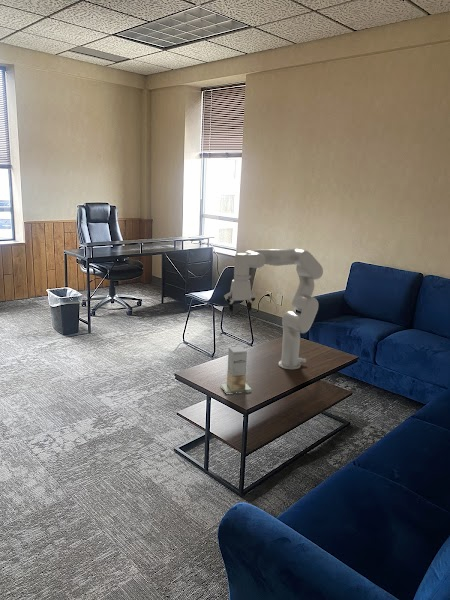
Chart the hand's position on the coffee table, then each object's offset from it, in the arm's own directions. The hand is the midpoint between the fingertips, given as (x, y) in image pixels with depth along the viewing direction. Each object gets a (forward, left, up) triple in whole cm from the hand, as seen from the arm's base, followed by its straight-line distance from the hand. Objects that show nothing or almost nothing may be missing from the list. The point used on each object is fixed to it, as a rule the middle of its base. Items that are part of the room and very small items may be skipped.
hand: (240, 310), depth 239 cm
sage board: (+6, +15, -36) cm, 40 cm away
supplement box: (+6, +15, -28) cm, 32 cm away
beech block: (+6, +15, -35) cm, 38 cm away
